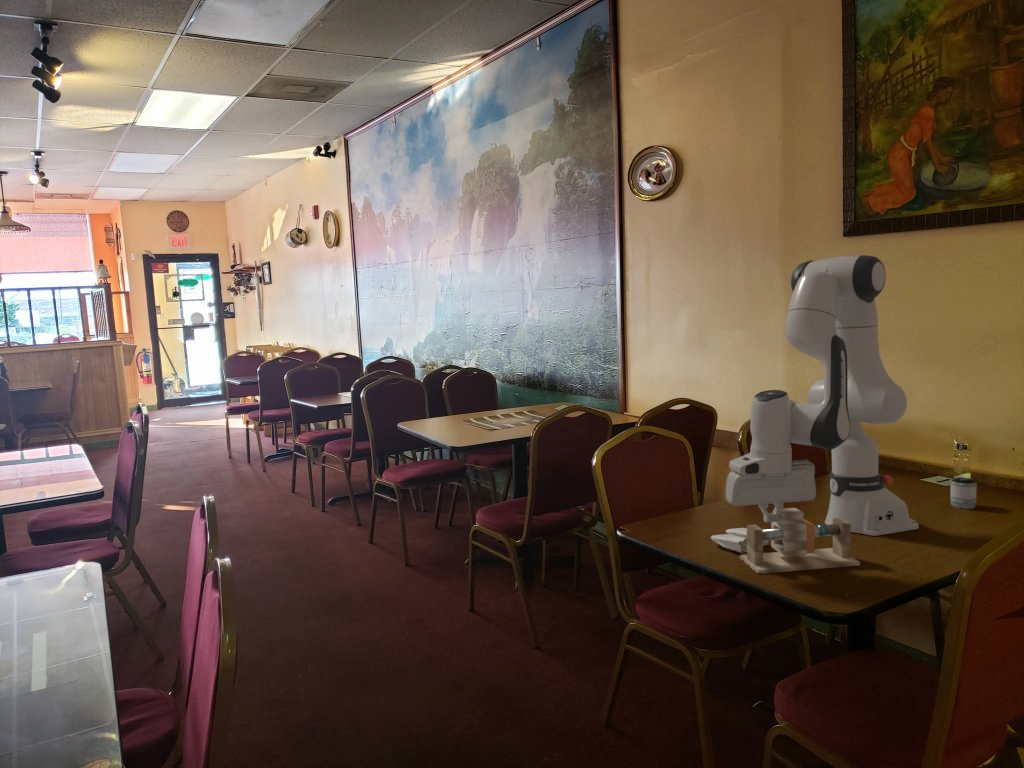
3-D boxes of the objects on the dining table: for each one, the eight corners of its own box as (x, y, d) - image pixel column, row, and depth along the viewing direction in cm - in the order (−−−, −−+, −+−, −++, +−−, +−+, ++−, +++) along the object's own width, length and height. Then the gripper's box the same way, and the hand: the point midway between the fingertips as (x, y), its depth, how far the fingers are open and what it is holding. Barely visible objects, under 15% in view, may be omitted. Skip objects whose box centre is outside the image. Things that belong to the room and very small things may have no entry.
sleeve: (791, 545, 170) (791, 505, 169) (806, 555, 163) (806, 514, 162) (771, 546, 170) (771, 507, 169) (785, 556, 163) (785, 515, 162)
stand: (835, 550, 173) (835, 514, 172) (860, 565, 163) (860, 526, 163) (739, 558, 171) (739, 521, 170) (758, 573, 161) (758, 534, 160)
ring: (800, 543, 170) (800, 517, 170) (814, 553, 164) (814, 525, 163) (792, 544, 170) (792, 517, 169) (806, 553, 164) (806, 525, 163)
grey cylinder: (981, 509, 201) (981, 481, 200) (958, 509, 201) (959, 482, 200) (967, 503, 207) (968, 476, 207) (945, 503, 208) (945, 477, 207)
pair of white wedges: (773, 547, 178) (738, 536, 188) (773, 530, 178) (738, 521, 188) (739, 557, 172) (705, 546, 182) (738, 540, 172) (704, 530, 182)
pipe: (834, 533, 169) (834, 522, 169) (840, 536, 166) (840, 525, 166) (756, 539, 167) (756, 528, 167) (761, 542, 164) (761, 531, 164)
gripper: (807, 456, 168) (807, 514, 170) (722, 462, 166) (723, 520, 168) (821, 462, 162) (821, 522, 163) (733, 468, 160) (734, 528, 161)
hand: (771, 521), depth 166 cm, fingers closed
